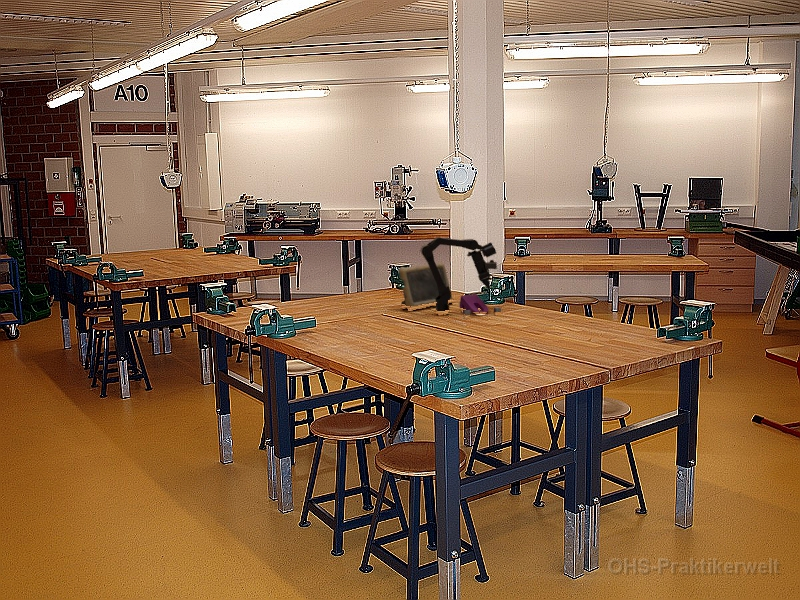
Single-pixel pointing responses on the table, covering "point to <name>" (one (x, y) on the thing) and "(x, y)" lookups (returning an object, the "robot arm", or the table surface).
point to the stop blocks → (468, 312)
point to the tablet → (421, 284)
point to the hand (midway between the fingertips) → (489, 287)
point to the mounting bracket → (472, 303)
